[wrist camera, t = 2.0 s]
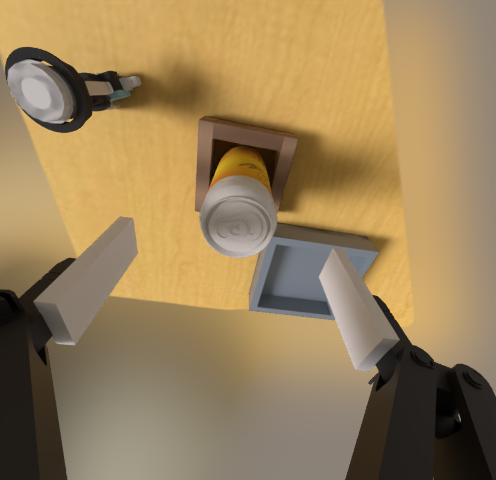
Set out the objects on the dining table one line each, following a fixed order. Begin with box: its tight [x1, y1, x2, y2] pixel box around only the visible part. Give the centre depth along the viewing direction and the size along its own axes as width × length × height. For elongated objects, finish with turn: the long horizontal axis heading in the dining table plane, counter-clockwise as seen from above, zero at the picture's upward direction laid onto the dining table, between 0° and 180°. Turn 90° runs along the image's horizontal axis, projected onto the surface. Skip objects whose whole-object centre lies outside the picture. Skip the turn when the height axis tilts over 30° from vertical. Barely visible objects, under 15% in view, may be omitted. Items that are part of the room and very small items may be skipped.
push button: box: [5, 47, 142, 133], centre depth 20 cm, size 7×5×10 cm
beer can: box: [199, 146, 277, 258], centre depth 22 cm, size 6×6×15 cm
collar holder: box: [195, 116, 298, 213], centre depth 27 cm, size 10×10×4 cm
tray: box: [249, 223, 379, 320], centre depth 37 cm, size 16×16×4 cm
